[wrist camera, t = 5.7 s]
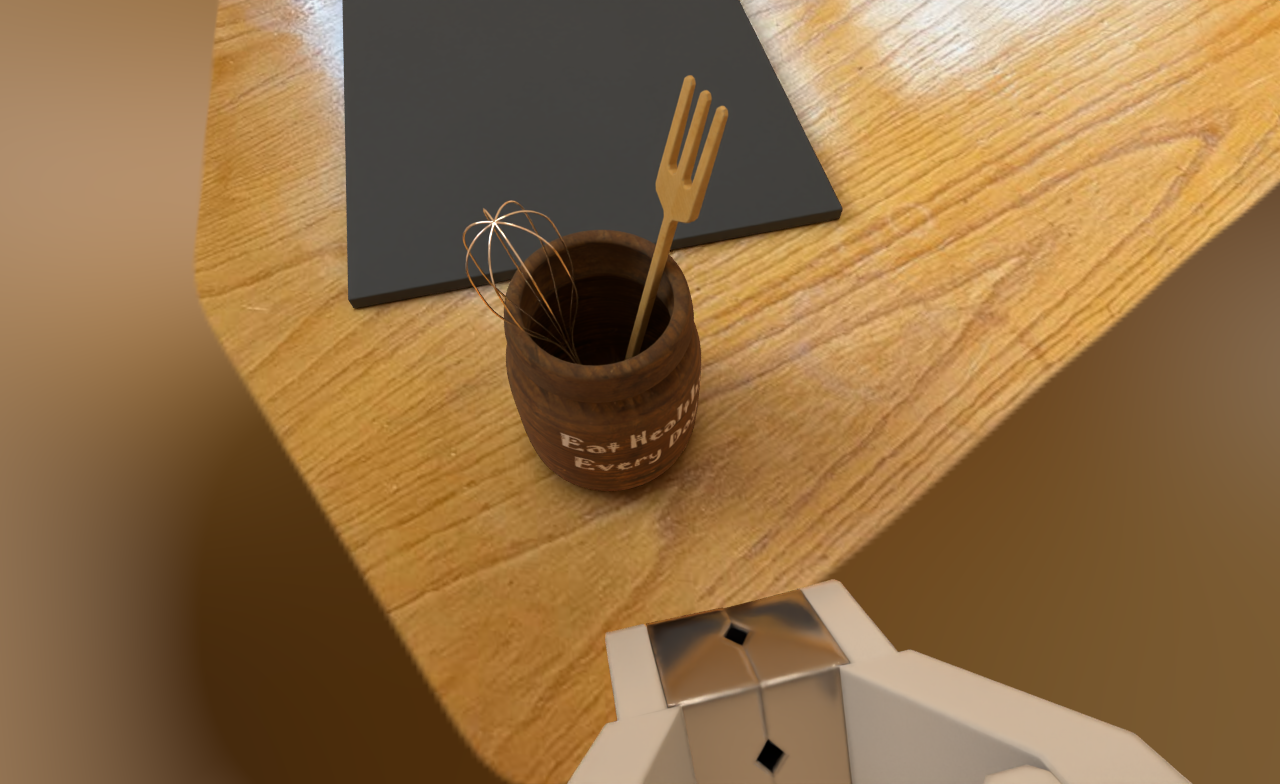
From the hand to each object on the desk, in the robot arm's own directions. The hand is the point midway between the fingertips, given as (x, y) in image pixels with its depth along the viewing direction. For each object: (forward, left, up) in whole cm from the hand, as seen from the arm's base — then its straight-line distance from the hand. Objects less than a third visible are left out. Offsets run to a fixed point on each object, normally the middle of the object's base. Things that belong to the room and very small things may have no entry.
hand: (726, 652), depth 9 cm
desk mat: (+1, +35, -13) cm, 37 cm away
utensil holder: (0, +10, -13) cm, 16 cm away
